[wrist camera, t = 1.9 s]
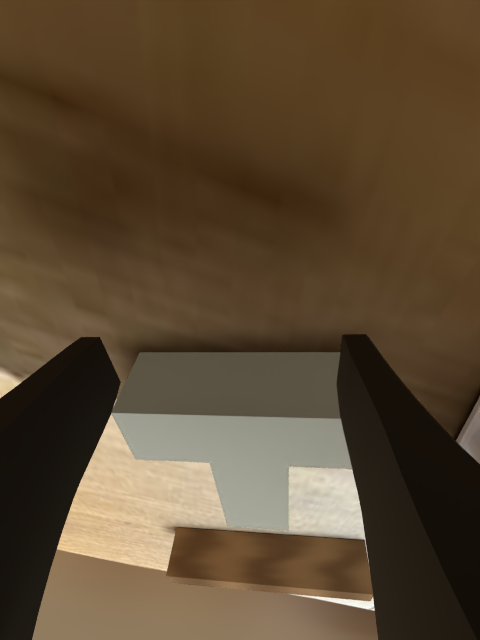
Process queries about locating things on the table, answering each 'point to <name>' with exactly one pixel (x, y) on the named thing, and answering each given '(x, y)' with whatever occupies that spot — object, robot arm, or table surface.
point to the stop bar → (271, 563)
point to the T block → (237, 422)
